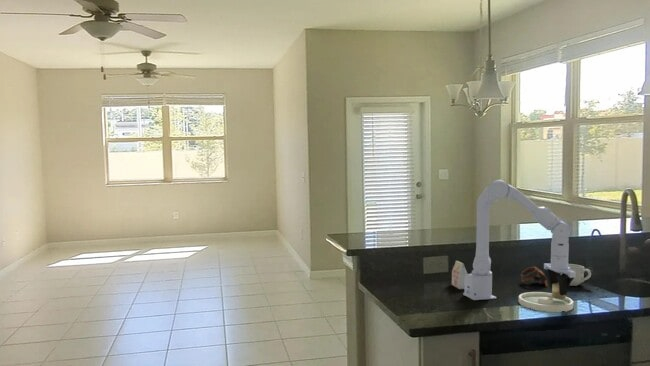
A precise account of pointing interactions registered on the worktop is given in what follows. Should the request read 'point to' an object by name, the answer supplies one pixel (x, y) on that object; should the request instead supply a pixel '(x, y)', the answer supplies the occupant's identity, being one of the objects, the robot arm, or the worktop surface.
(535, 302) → the groove tray
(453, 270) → the white rectangular block
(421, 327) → the worktop surface
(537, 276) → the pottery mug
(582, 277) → the teacup
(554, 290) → the maple bead
